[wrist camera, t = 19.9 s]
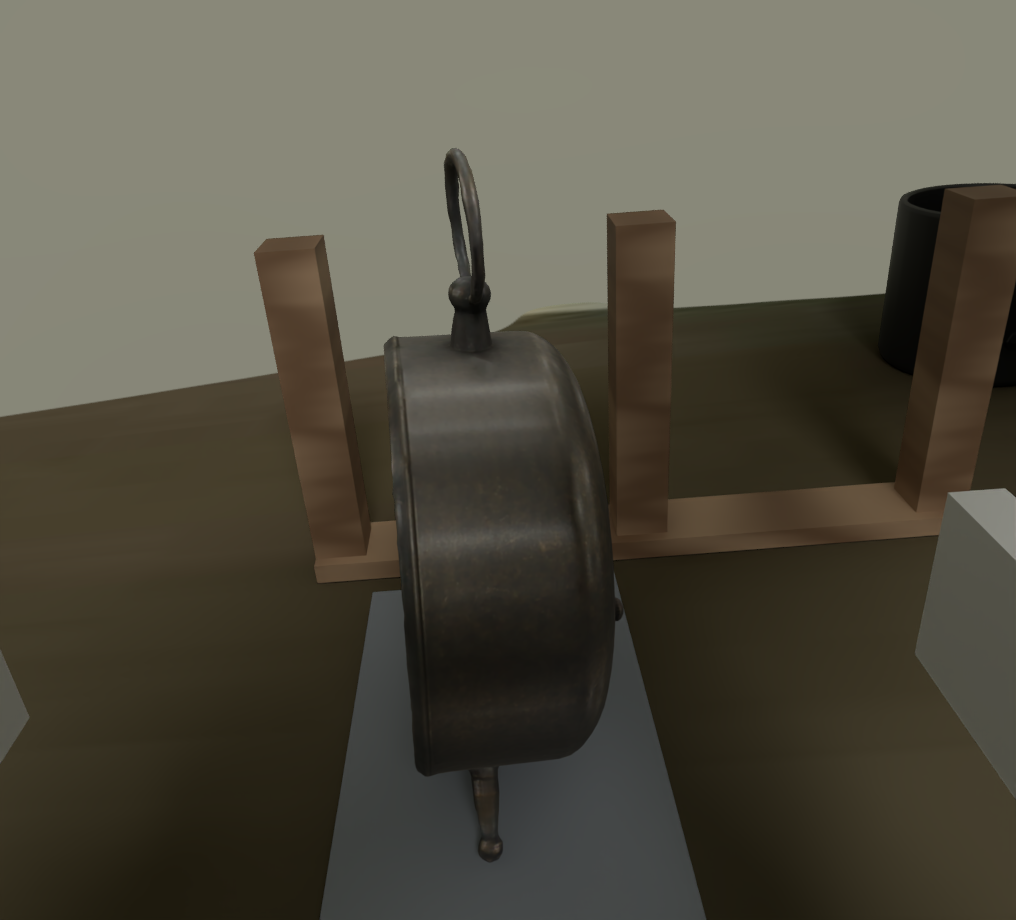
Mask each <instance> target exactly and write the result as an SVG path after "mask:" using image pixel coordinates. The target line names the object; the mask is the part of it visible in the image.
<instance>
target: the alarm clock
mask: <svg viewBox="0 0 1016 920" xmlns="http://www.w3.org/2000/svg"><path fill="white" fill-rule="evenodd" d="M444 171H445V190H446V198H447V209H448V215H449V219H450V222H451V228H452V238H453V245H454V250H455V256H456V259H457V262H458V270H459V273H460V278H458V279H456V280H455V281H454V282H453V283H452V284H451V285H450V287H449V292H448V293H449V294H448V295H449V300H450V301H451V304H452V305H453V306H454V308H455V313H454V318H453V324H452V333H451V335H437V336H419V337H395V336H393V337H391V338H390V339H389V340H388V341H387V342H386V343H385V344H384V362H385V376H386V387H387V399H388V416H389V430H390V446H391V463H392V475H393V497H394V500H395V518H396V528H397V547H398V556H399V567H400V576H401V592H402V603H403V610H404V632H405V646H406V660H407V672H408V680H409V691H410V701H411V711H412V734H413V744H414V759H415V762H414V763H415V767H416V769H417V771H418V772H419V773H421V774H422V775H424V776H425V777H429V776H433V775H436V774H439V773H446V772H454V771H462V770H468V771H469V772H470V775H471V781H472V788H473V797H474V805H475V809H476V811H477V814H478V820H479V825H480V829H481V839H480V842H479V845H478V853H479V856H480V857H481V858H482V859H483V860H485V861H487V862H489V863H491V862H494V861H496V860H498V859H499V858H500V856H501V854H502V852H503V841H502V840H501V838H500V836H499V834H498V815H499V782H498V768H499V766H504V765H513V764H521V763H530V762H538V761H546V760H555V759H561V758H564V757H567V756H570V755H572V754H573V753H574V752H576V751H578V750H579V749H580V748H581V747H582V746H583V745H584V744H585V742H586V741H587V740H588V738H589V737H590V735H591V734H592V733H593V731H594V729H595V727H596V726H597V724H598V722H599V719H600V717H601V714H602V712H603V709H604V706H605V702H606V698H607V694H608V689H609V683H610V677H611V671H612V662H613V653H614V639H615V621H619V620H620V619H621V618H622V616H623V610H624V606H623V604H622V602H621V601H620V599H618V598H616V597H615V586H614V566H613V551H612V539H611V530H610V520H609V508H608V501H607V495H606V488H605V481H604V475H603V470H602V464H601V459H600V455H599V450H598V445H597V441H596V436H595V432H594V429H593V425H592V421H591V418H590V414H589V411H588V407H587V405H586V402H585V399H584V397H583V394H582V391H581V388H580V386H579V383H578V381H577V379H576V377H575V375H574V374H573V372H572V370H571V368H570V366H569V364H568V363H567V361H566V360H565V359H564V357H563V356H562V355H561V353H560V352H559V351H558V350H557V349H556V348H555V347H554V346H553V345H552V344H551V343H549V342H548V341H547V340H545V339H544V338H542V337H540V336H538V335H536V334H534V333H531V332H527V331H507V332H490V330H489V324H488V319H487V313H486V307H487V305H488V303H489V301H490V297H491V292H490V288H489V286H488V285H487V284H486V282H485V268H484V257H483V256H484V255H483V239H482V228H481V216H480V208H479V200H478V196H477V191H476V187H475V182H474V178H473V174H472V170H471V168H470V166H469V164H468V161H467V158H466V156H465V155H464V154H463V153H462V151H460V150H459V149H457V148H452V149H450V151H448V153H447V154H446V158H445V161H444ZM458 178H459V181H460V187H461V195H462V201H463V206H464V211H465V215H466V220H467V225H468V233H469V242H470V251H471V259H472V276H471V273H470V265H469V261H468V257H467V251H466V245H465V240H464V236H463V230H462V223H461V216H460V208H459V199H458V196H459V183H458Z"/></svg>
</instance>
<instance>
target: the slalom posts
mask: <svg viewBox="0 0 1016 920" xmlns="http://www.w3.org/2000/svg"><path fill="white" fill-rule="evenodd" d="M675 232H676V221H675V220H673V218H671V217H670V216H669V215H668V214H667V213H666V212H665V211H664V210H652V211H638V212H626V213H611V214H607V268H608V269H607V274H608V275H607V276H608V386H609V495H610V504H608V508H609V520H610V530H611V539H612V551H613V560H623V559H636V558H649V557H662V556H674V555H687V554H700V553H713V552H726V551H739V550H752V549H765V548H777V547H790V546H803V545H816V544H829V543H842V542H855V541H868V540H880V539H893V538H906V537H919V536H932V535H939V533H940V529H941V524H942V519H943V514H944V509H945V504H946V499H947V495H948V492H962V491H970V488H971V484H972V479H973V475H974V470H975V465H976V461H977V456H978V452H979V447H980V443H981V438H982V433H983V429H984V424H985V420H986V415H987V410H988V406H989V401H990V397H991V392H992V388H993V383H994V378H995V374H996V369H997V365H998V360H999V355H1000V351H1001V346H1002V342H1003V337H1004V332H1005V328H1006V323H1007V319H1008V314H1009V310H1010V305H1011V300H1012V296H1013V291H1014V287H1015V282H1016V189H1013V188H1010V187H1007V186H1004V185H989V186H976V187H962V188H949V189H945V191H944V197H943V203H942V209H941V215H940V221H939V226H938V232H937V238H936V244H935V250H934V256H933V262H932V268H931V273H930V279H929V285H928V291H927V297H926V303H925V309H924V315H923V321H922V326H921V332H920V338H919V344H918V350H917V356H916V362H915V368H914V374H913V379H912V385H911V391H910V397H909V403H908V409H907V415H906V421H905V426H904V432H903V438H902V444H901V450H900V456H899V462H898V468H897V474H896V479H895V482H888V483H875V484H862V485H849V486H836V487H823V488H811V489H798V490H785V491H772V492H759V493H746V494H733V495H720V496H707V497H694V498H681V499H668V483H669V448H670V412H671V376H672V340H673V304H674V269H675ZM254 256H255V261H256V266H257V271H258V276H259V281H260V285H261V291H262V296H263V300H264V305H265V310H266V315H267V320H268V325H269V330H270V334H271V340H272V345H273V349H274V354H275V360H276V364H277V369H278V374H279V379H280V384H281V389H282V394H283V399H284V404H285V409H286V414H287V419H288V424H289V429H290V433H291V438H292V443H293V448H294V453H295V458H296V463H297V468H298V473H299V478H300V483H301V488H302V493H303V498H304V502H305V507H306V512H307V517H308V522H309V527H310V532H311V537H312V542H313V547H314V552H315V557H316V561H315V565H314V569H315V574H316V579H317V583H327V582H340V581H353V580H365V579H378V578H391V577H401V576H400V567H399V556H398V547H397V528H396V520H395V521H382V522H370V517H369V511H368V505H367V499H366V493H365V487H364V481H363V474H362V468H361V462H360V456H359V450H358V444H357V438H356V431H355V425H354V419H353V413H352V407H351V401H350V395H349V389H348V382H347V376H346V370H345V364H344V358H343V352H342V346H341V340H340V333H339V328H338V321H337V315H336V309H335V303H334V297H333V291H332V284H331V278H330V272H329V266H328V260H327V254H326V248H325V241H324V235H313V236H300V237H286V238H273V239H266V240H265V241H264V242H263V244H262V245H261V246H260V247H259V248H258V249H257V250H256V251H255V252H254Z"/></svg>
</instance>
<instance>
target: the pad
mask: <svg viewBox="0 0 1016 920" xmlns="http://www.w3.org/2000/svg"><path fill="white" fill-rule="evenodd" d="M614 586H615V597H616V598H618V599H620V601H621V602H622V600H621V597H620V593H619V589H618V585H617V582H616V578H615V574H614ZM414 762H415V759H414V744H413V734H412V711H411V701H410V691H409V680H408V672H407V660H406V646H405V632H404V610H403V603H402V592H401V590H395V591H382V592H373V594H372V600H371V606H370V612H369V619H368V625H367V631H366V637H365V643H364V649H363V656H362V662H361V668H360V674H359V680H358V686H357V692H356V699H355V705H354V711H353V717H352V723H351V729H350V736H349V742H348V748H347V754H346V760H345V766H344V772H343V779H342V785H341V791H340V797H339V803H338V809H337V816H336V822H335V828H334V834H333V840H332V846H331V852H330V859H329V865H328V871H327V877H326V883H325V889H324V896H323V902H322V908H321V914H320V920H706V917H705V913H704V909H703V905H702V902H701V898H700V894H699V890H698V886H697V883H696V879H695V875H694V871H693V868H692V864H691V860H690V856H689V853H688V849H687V845H686V841H685V838H684V834H683V830H682V826H681V823H680V819H679V815H678V811H677V807H676V804H675V800H674V796H673V792H672V789H671V785H670V781H669V777H668V774H667V770H666V766H665V762H664V759H663V755H662V751H661V747H660V743H659V740H658V736H657V732H656V728H655V725H654V721H653V717H652V713H651V710H650V706H649V702H648V698H647V695H646V691H645V687H644V683H643V679H642V676H641V672H640V668H639V664H638V661H637V657H636V653H635V649H634V646H633V642H632V638H631V634H630V631H629V627H628V623H627V619H626V616H625V612H624V610H623V616H622V618H621V619H620V620H619V621H615V639H614V653H613V662H612V671H611V677H610V683H609V689H608V694H607V698H606V702H605V706H604V709H603V712H602V714H601V717H600V719H599V722H598V724H597V726H596V727H595V729H594V731H593V733H592V734H591V735H590V737H589V738H588V740H587V741H586V742H585V744H584V745H583V746H582V747H581V748H580V749H579V750H578V751H576V752H574V753H573V754H572V755H570V756H567V757H564V758H561V759H555V760H546V761H538V762H530V763H521V764H513V765H504V766H499V768H498V782H499V815H498V834H499V836H500V838H501V840H502V841H503V852H502V854H501V856H500V858H499V859H498V860H496V861H494V862H491V863H489V862H487V861H485V860H483V859H482V858H481V857H480V856H479V853H478V845H479V842H480V839H481V829H480V825H479V820H478V814H477V811H476V809H475V805H474V797H473V788H472V781H471V775H470V772H469V771H468V770H462V771H454V772H446V773H439V774H436V775H433V776H429V777H425V776H424V775H422V774H421V773H419V772H418V771H417V769H416V767H415V763H414Z"/></svg>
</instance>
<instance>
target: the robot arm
mask: <svg viewBox="0 0 1016 920" xmlns="http://www.w3.org/2000/svg"><path fill="white" fill-rule="evenodd" d="M915 655H916V656H917V658H918V659H919V661H920V662H921V663H922V665H923V666H924V668H925V669H926V671H927V672H928V674H929V675H930V676H931V678H932V679H933V681H934V682H935V684H936V685H937V687H938V688H939V689H940V691H941V692H942V694H943V695H944V697H945V698H946V700H947V701H948V702H949V704H950V705H951V707H952V708H953V710H954V711H955V713H956V714H957V715H958V717H959V718H960V720H961V721H962V723H963V724H964V726H965V727H966V728H967V730H968V731H969V733H970V734H971V736H972V737H973V739H974V740H975V741H976V743H977V744H978V746H979V747H980V749H981V750H982V751H983V753H984V754H985V756H986V757H987V759H988V760H989V762H990V763H991V764H992V766H993V767H994V769H995V770H996V772H997V773H998V775H999V776H1000V777H1001V779H1002V780H1003V782H1004V783H1005V785H1006V786H1007V788H1008V789H1009V790H1010V792H1011V793H1012V795H1013V796H1014V798H1015V799H1016V498H1015V497H1014V496H1013V495H1012V494H1011V493H1010V492H1009V491H1008V490H1006V489H1005V488H1004V489H990V490H976V491H962V492H948V495H947V499H946V504H945V509H944V514H943V519H942V524H941V529H940V533H939V538H938V543H937V548H936V553H935V558H934V563H933V567H932V572H931V577H930V582H929V587H928V592H927V597H926V601H925V606H924V611H923V616H922V621H921V626H920V631H919V635H918V640H917V645H916V650H915ZM29 718H30V717H29V715H28V713H27V710H26V708H25V706H24V704H23V701H22V699H21V697H20V694H19V692H18V690H17V687H16V685H15V683H14V680H13V678H12V676H11V674H10V671H9V669H8V667H7V664H6V662H5V660H4V657H3V655H2V653H1V650H0V763H1V762H2V760H3V759H4V757H5V755H6V754H7V752H8V751H9V749H10V748H11V746H12V744H13V743H14V741H15V740H16V738H17V737H18V735H19V733H20V732H21V730H22V729H23V727H24V726H25V724H26V722H27V721H28V719H29Z"/></svg>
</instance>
